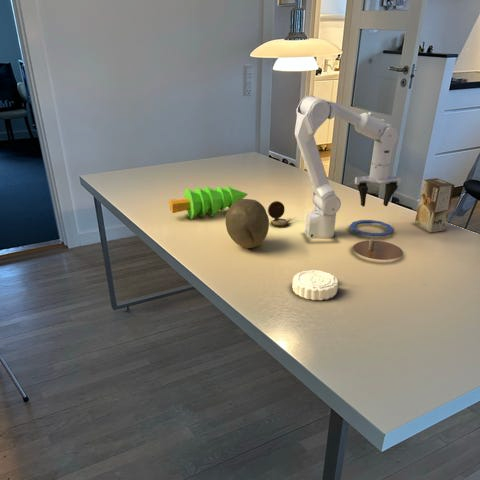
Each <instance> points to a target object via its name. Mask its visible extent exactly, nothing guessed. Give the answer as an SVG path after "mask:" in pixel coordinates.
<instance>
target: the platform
mask: <svg viewBox="0 0 480 480" xmlns="http://www.w3.org/2000/svg"><path fill="white" fill-rule="evenodd" d="M352 249H353V251H354V253H356V254H357V255H359V256H362V257H364V258H367V259H371V260H379V261H391V260H396V259H398V258H400V257H402V256H403V253H404V251H403V250H402V248H401V247H400V246H398V245H396V244H394V243H392V242H387V241H383V240H376V239H375V238H369V240H362V241H359V242H356V243H354V244H353V246H352Z"/></svg>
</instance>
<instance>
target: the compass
mask: <svg viewBox="0 0 480 480" xmlns="http://www.w3.org/2000/svg"><path fill="white" fill-rule="evenodd" d="M285 211H286V210H285V205H284V204H283V202H281V201H279V200H275V201H273V202H271V203H270V204H269V205H268V207H267V214H268V216H269V217H270V218H271V219H272V220H271V221H270V225H271V226H273V227H274V228H275V227H276V228H284V227H287V226H288V225H289V223H290V222H291V223H293V222H294V221H293V220H292V219H288V220H287V219H284V218H282V216H283V215H284V214H285Z"/></svg>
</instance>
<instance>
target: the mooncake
mask: <svg viewBox="0 0 480 480" xmlns="http://www.w3.org/2000/svg"><path fill="white" fill-rule="evenodd" d="M291 285H292V291H293V292H294V294H295V295H297V296H299V297H300V298H304V299H306V300H311V301H323V300H329V299H331V298H334V296H336V295H337V292H338V287H339V281H338V278H337V277H336V276H335V275H334V274H331V273H329V272H325V271H323V270H320V269H310V270H303V271H300V272H297V274H295V275H294V276H293V278H292V284H291Z"/></svg>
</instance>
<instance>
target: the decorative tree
mask: <svg viewBox="0 0 480 480" xmlns="http://www.w3.org/2000/svg"><path fill="white" fill-rule="evenodd" d="M183 194H184V198H174V199H169V203H168V204H169V209H170V212H171V214H175V213H180V212H184V211H186V214H187V216H188V217H189V218H190V219H191V220H193V219H194V218H196V217H197V216H199V217H200V218H203V217H204V216H205V215H206V214H208V215H209V216H211V218H212V217H213V216H215V215H216V214H217V213H218V212H219V211H220V212H222V211H224V210H225V209H226V208H228V209H229V208H230V207H231V205H232V204H233V203H235V202H236V201H238V200H241V199H245V198H246V197H247V196H248V195H249V193H246V192H244V191H241V190H239V189H236V188H234V187H231V186H228V185H226V186H225V188H223V187H221V186H217V187H216V189H215V188H212V187H209V186H206V185H205V186H204V189H202V188H200V187H198V186H196V187H195V189H194V190H192V189H190V188H188V187H186V188H185V190H184V193H183Z"/></svg>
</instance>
